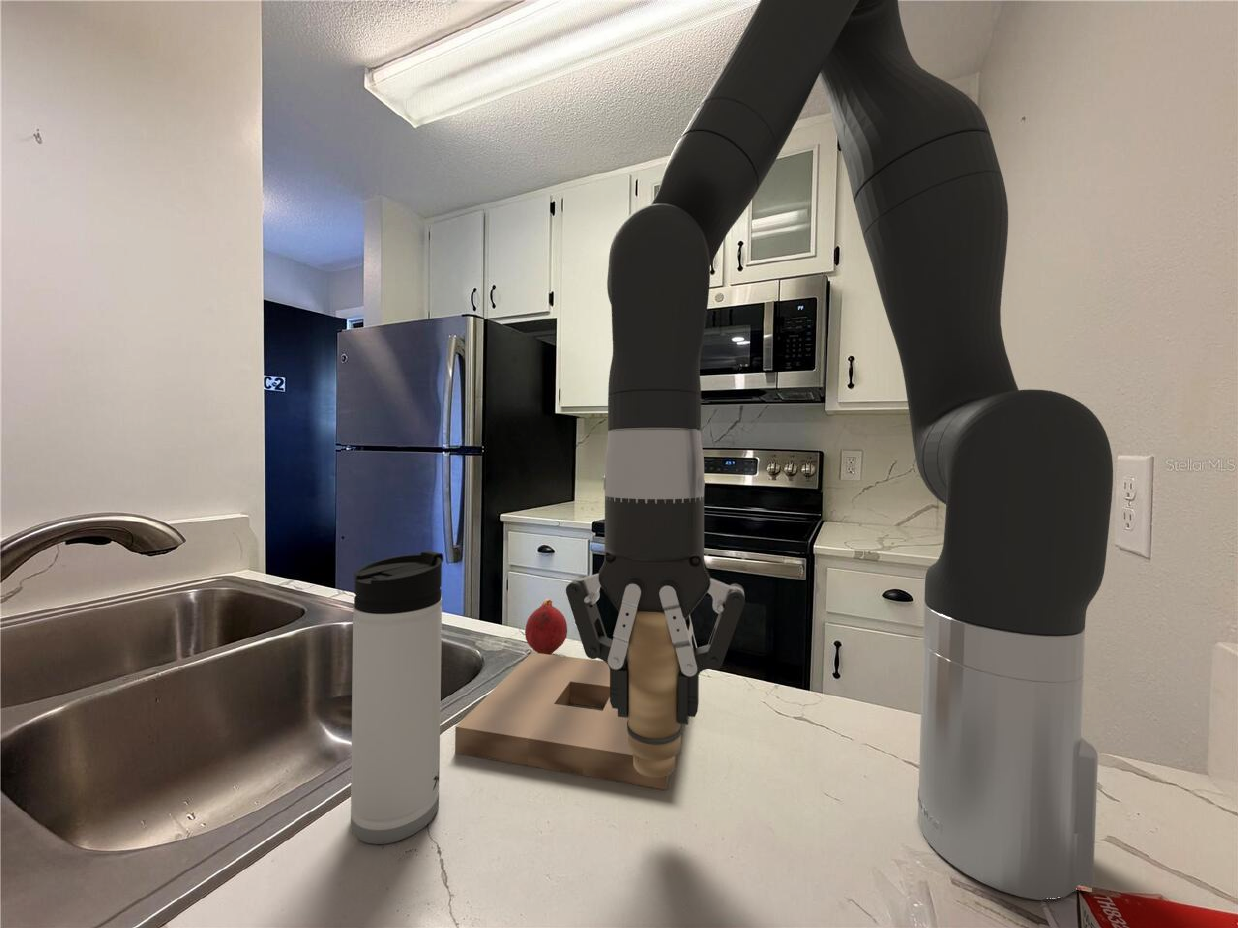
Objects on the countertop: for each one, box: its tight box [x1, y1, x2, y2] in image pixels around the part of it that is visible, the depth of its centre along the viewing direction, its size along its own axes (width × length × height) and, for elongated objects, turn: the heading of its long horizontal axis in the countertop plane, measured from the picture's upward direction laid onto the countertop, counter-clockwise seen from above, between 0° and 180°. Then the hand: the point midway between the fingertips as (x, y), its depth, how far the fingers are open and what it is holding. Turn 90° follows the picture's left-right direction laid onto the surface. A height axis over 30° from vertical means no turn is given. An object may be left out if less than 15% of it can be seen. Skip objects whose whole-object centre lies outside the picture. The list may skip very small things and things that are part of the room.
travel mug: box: [350, 550, 444, 845], centre depth 38 cm, size 6×7×20 cm
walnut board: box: [454, 652, 671, 791], centre depth 53 cm, size 20×18×2 cm
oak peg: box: [627, 611, 683, 778], centre depth 37 cm, size 4×4×12 cm
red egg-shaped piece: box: [524, 598, 568, 655], centre depth 68 cm, size 6×6×8 cm
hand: (653, 714), depth 37 cm, fingers closed on oak peg, 4 cm apart
